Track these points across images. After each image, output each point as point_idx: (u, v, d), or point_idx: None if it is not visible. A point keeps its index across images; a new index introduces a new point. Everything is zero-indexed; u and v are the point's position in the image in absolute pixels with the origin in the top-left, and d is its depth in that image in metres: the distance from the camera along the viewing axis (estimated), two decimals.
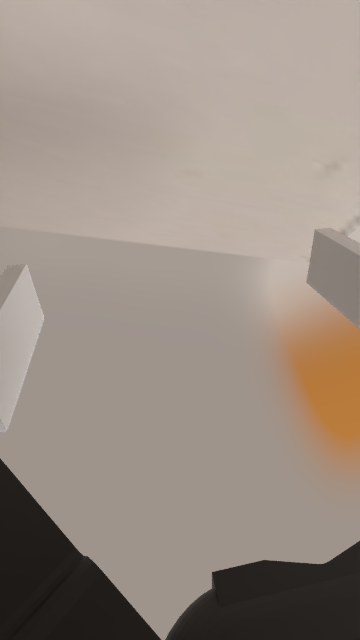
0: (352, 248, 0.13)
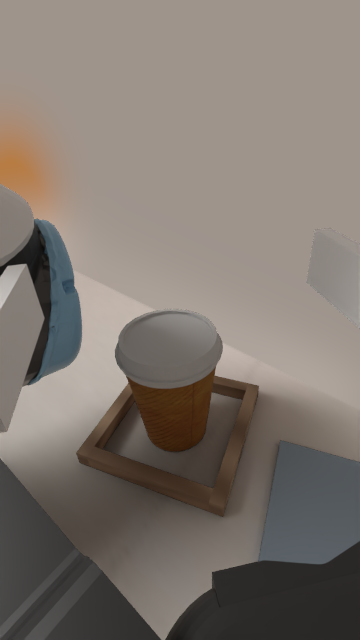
0: (352, 248, 0.13)
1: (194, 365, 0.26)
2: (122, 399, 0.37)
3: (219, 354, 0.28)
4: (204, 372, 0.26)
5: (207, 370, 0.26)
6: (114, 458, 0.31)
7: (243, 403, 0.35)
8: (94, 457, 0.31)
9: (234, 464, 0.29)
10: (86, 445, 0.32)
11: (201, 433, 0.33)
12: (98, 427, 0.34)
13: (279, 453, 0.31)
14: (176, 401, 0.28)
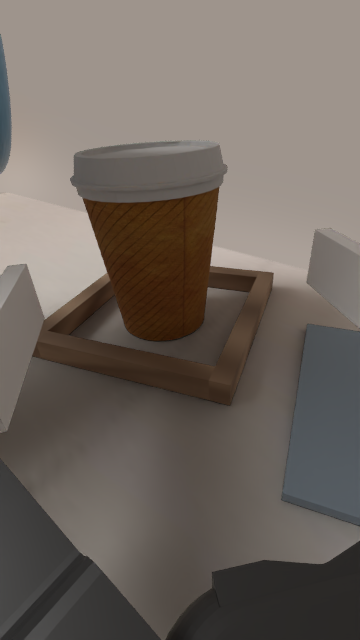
0: (352, 248, 0.13)
1: (185, 161, 0.17)
2: (93, 289, 0.28)
3: (223, 169, 0.19)
4: (200, 178, 0.17)
5: (205, 177, 0.17)
6: (74, 341, 0.22)
7: (254, 287, 0.26)
8: (45, 341, 0.22)
9: (245, 342, 0.20)
10: None
11: (197, 317, 0.24)
12: (56, 313, 0.25)
13: (307, 336, 0.22)
14: (159, 236, 0.18)
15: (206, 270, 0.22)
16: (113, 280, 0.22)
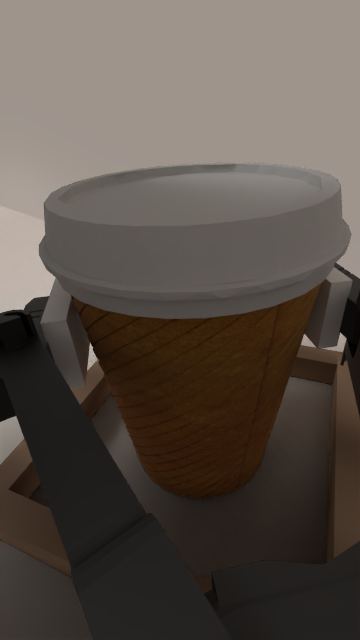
0: None
1: (294, 230, 0.07)
2: (88, 382, 0.18)
3: (345, 230, 0.09)
4: (322, 264, 0.08)
5: (329, 260, 0.08)
6: (51, 525, 0.12)
7: (340, 389, 0.17)
8: (1, 520, 0.12)
9: None
10: None
11: (261, 455, 0.14)
12: None
13: None
14: (219, 370, 0.09)
15: (284, 391, 0.13)
16: (121, 411, 0.12)
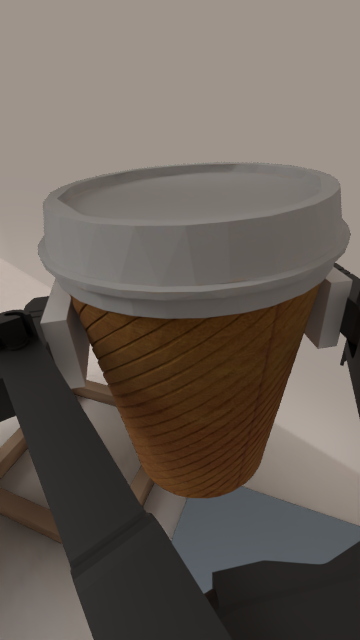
0: None
1: (294, 230, 0.07)
2: None
3: (345, 230, 0.09)
4: (321, 263, 0.08)
5: (329, 259, 0.08)
6: (2, 496, 0.27)
7: None
8: None
9: None
10: None
11: (261, 455, 0.14)
12: None
13: None
14: (218, 371, 0.09)
15: None
16: (121, 411, 0.12)
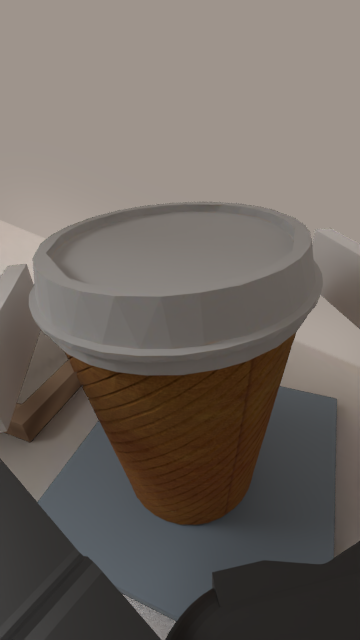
0: (352, 248, 0.13)
1: (263, 295, 0.08)
2: None
3: (318, 280, 0.10)
4: (291, 322, 0.08)
5: (298, 317, 0.08)
6: None
7: None
8: None
9: (65, 378, 0.22)
10: None
11: (248, 482, 0.15)
12: None
13: None
14: (199, 416, 0.09)
15: (268, 422, 0.13)
16: (111, 444, 0.13)
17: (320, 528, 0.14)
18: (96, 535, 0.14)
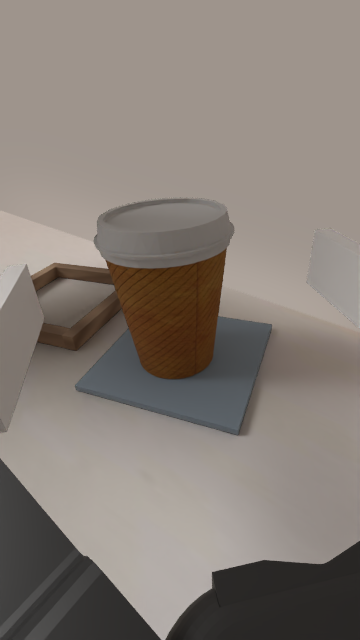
0: (352, 248, 0.13)
1: (198, 233, 0.19)
2: None
3: (230, 232, 0.21)
4: (212, 246, 0.19)
5: (216, 244, 0.20)
6: None
7: None
8: None
9: (96, 315, 0.33)
10: None
11: (208, 356, 0.26)
12: None
13: None
14: (175, 294, 0.21)
15: (215, 316, 0.24)
16: (131, 327, 0.24)
17: (247, 378, 0.25)
18: (121, 384, 0.26)
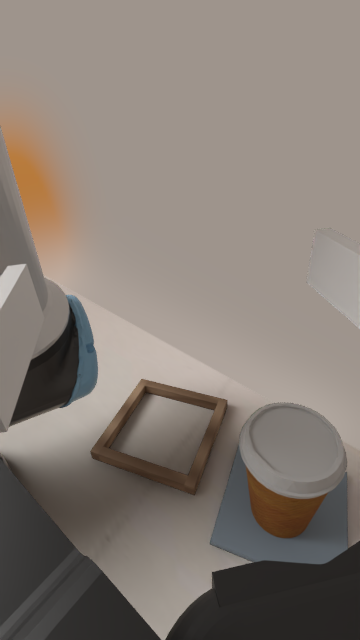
0: (352, 248, 0.13)
1: (332, 477, 0.27)
2: (123, 410, 0.49)
3: (345, 458, 0.30)
4: (339, 482, 0.28)
5: (341, 479, 0.28)
6: (118, 455, 0.42)
7: (214, 413, 0.47)
8: (103, 454, 0.43)
9: (204, 458, 0.41)
10: (97, 445, 0.44)
11: None
12: (106, 432, 0.46)
13: (238, 451, 0.43)
14: (307, 506, 0.29)
15: None
16: (260, 507, 0.32)
17: (341, 539, 0.34)
18: (246, 542, 0.34)
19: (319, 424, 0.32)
